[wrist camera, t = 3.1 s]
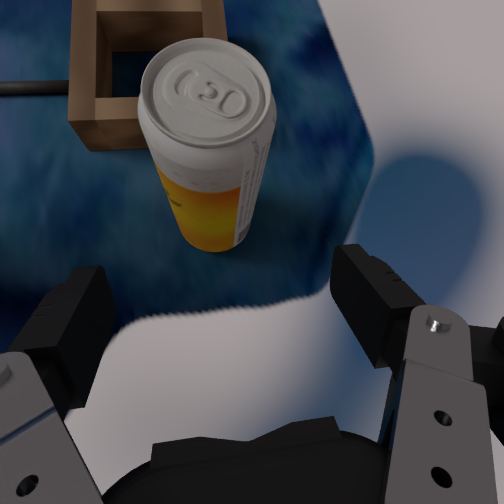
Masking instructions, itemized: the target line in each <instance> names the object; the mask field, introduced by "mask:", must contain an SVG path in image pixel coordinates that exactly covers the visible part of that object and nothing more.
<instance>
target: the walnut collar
mask: <svg viewBox="0 0 504 504" xmlns="http://www.w3.org/2000/svg"><path fill="white" fill-rule="evenodd" d="M192 38H214V39H220V40H223V41H227V42H228V39H227V31H226V23H225V15H224V7H223V0H72V22H71V47H70V73H69V80H57V81H8V82H0V94H35V93H69V99H68V122H69V123H70V125H71V126H72V128H73V129H74V130H75V132H76V133H77V135H78V136H79V138H80V139H81V140H82V142H83V143H84V145H85V146H86V147H87V149H88V150H89V151H98V150H119V149H141V148H149V147H148V144H147V142H146V139H145V137H144V134H143V131H142V129H141V126H140V123H139V119H138V99H139V97H121V98H112V52H141V51H162V50H163V49H164V48H166V47H168V46H170V45H172V44H174V43H176V42H179V41H183V40H187V39H192Z"/></svg>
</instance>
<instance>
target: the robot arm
mask: <svg viewBox="0 0 504 504" xmlns="http://www.w3.org/2000/svg"><path fill="white" fill-rule="evenodd" d="M330 291H331V295H332V297H333V299H334V301H335V303H336V304H337V306H338V308H339V309H340V311H341V313H342V314H343V316H344V318H345V319H346V321H347V323H348V324H349V326H350V328H351V329H352V331H353V333H354V335H355V336H356V338H357V339H358V341H359V343H360V345H361V346H362V348H363V350H364V351H365V353H366V355H367V356H368V358H369V360H370V361H371V363H372V365H373V366H374V368H375V369H376V368H382V367H383V368H384V367H390V369H391V370H392V376H391V379H390V384H389V389H388V394H387V399H386V404H385V409H384V414H383V419H382V424H381V429H380V434H379V437H378V441H377V442H374V441H372V440H370V439H368V438H366V437H363V436H361V435H357V434H354V433H350V432H346V431H340V430H339V428H338V426H337V423H336V421H335V418H334V416H330V417H324V418H317V419H311V420H304V421H298V422H291V423H289V424H287V425H285V426H283V427H280V428H278V429H276V430H274V431H271V432H270V433H267V434H265V435H263V436H260V437H258V438H256V439H254V440H251V441H235V440H226V439H217V438H207V437H194V438H188V439H181V440H175V441H168V442H162V443H155V444H153V446H152V454H151V460H150V461H148V462H146V463H144V464H142V465H140V466H139V467H137V468H135V469H133V470H132V471H130V472H129V473H127V474H126V475H125V476H123V477H122V478H121V479H119V480H118V481H117V482H116V483H115V484H114V485H113V486H111V487H110V488H109V489H108V490H107V491H106V492H105V493H104V494H103V495H101V493H100V491H99V489H98V487H97V485H96V484H95V481H94V480H93V478H92V476H91V474H90V472H89V470H88V468H87V466H86V464H85V462H84V460H83V458H82V456H81V454H80V453H79V450H78V448H77V446H76V445H75V443H74V441H73V439H72V437H71V435H70V433H69V431H68V429H67V427H66V425H65V423H64V419H65V416H66V414H67V411H68V410H69V409H77V408H84V407H85V405H86V402H87V399H88V396H89V393H90V390H91V387H92V384H93V382H94V379H95V376H96V373H97V370H98V367H99V364H100V361H101V358H102V355H103V352H104V349H105V346H106V344H107V341H108V338H109V335H110V332H111V329H112V326H113V323H114V320H115V303H114V300H113V296H112V293H111V290H110V286H109V283H108V280H107V276H106V273H105V270H104V268H103V267H102V266H101V265H99V266H87V267H77V268H75V269H74V270H73V272H72V274H71V275H70V277H69V278H68V280H67V281H66V283H65V284H59V285H58V286H56V287H55V288H54V289H52V290H51V291H50V292H48V293H47V294H46V295H45V296H44V298H43V299H42V301H41V302H40V303H39V305H38V308H37V309H35V311H34V312H33V314H32V315H31V318H30V319H28V321H27V322H26V324H25V325H24V327H23V328H22V329H21V331H20V332H19V334H18V335H17V337H16V338H15V340H14V341H13V342H12V344H11V345H10V347H9V348H8V350H7V351H6V353H3V354H0V504H498V501H497V492H496V483H495V473H494V464H493V454H492V445H491V435H490V429H491V430H492V431H493V433H494V434H495V435H496V437H497V438H498V439H499V441H500V442H501V443H502V445H503V446H504V317H502V319H501V320H500V322H499V324H498V326H497V328H488V327H479V326H471V325H468V324H467V323H466V321H465V320H464V319H463V318H462V317H460V316H459V315H458V314H456V313H455V312H453V311H451V310H448V309H446V308H443V307H440V306H435V305H427V304H426V303H425V302H424V301H423V300H422V299H421V298H420V297H419V296H418V295H417V294H416V293H415V292H414V291H413V290H412V289H411V288H410V287H409V286H408V285H407V284H406V283H405V282H404V281H402V279H401V278H400V277H399V276H398V275H397V274H396V273H395V272H394V271H393V270H392V269H391V267H390V266H388V265H387V263H385V262H383V261H382V260H380V259H378V258H376V257H374V256H369V255H368V254H367V253H366V252H365V251H364V249H363V248H362V247H361V246H360V245H359V244H349V245H338V246H336V247H335V249H334V254H333V261H332V268H331V276H330Z"/></svg>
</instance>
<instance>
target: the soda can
mask: <svg viewBox="0 0 504 504" xmlns="http://www.w3.org/2000/svg"><path fill="white" fill-rule="evenodd" d="M276 114H277V111H276V104H275V100H274V97H273V94H272V92H271V85H270V81H269V78H268V76H267V73H266V72H265V70H264V68H263V67H262V65H261V64H260V63H259V62H258V60H257V59H256V58H255V57H253V56H252V55H251V54H250V53H249V52H247V51H246V50H244V49H243V48H241V47H239V46H237V45H235V44H233V43H230V42H227V41H223V40H220V39H214V38H192V39H187V40H183V41H179V42H176V43H174V44H172V45H170V46H168V47H166V48H164V49H163V50H162V51H160V52H159V53H158V54H157V55H156V56H154V58H153V59H152V60H151V61H150V62H149V64H148V65H147V67H146V69H145V71H144V74H143V77H142V81H141V92H140V96H139V99H138V119H139V123H140V126H141V129H142V131H143V134H144V137H145V139H146V142H147V144H148V147H149V150H150V152H151V155H152V158H153V160H154V163H155V165H156V168H157V171H158V173H159V176H160V178H161V181H162V184H163V186H164V189H165V192H166V194H167V197H168V199H169V202H170V205H171V207H172V210H173V212H174V215H175V218H176V220H177V223H178V226H179V228H180V231H181V233H182V235H183V236H184V238H185V239H186V240H187V241H188V242H189V243H190V244H191V245H193V246H194V247H196V248H198V249H200V250H203V251H207V252H222V251H226V250H229V249H231V248H233V247H235V246H236V245H238V244H239V243H240V242H241V241H242V240H243V239H244V237H245V236H246V234H247V232H248V230H249V227H250V223H251V219H252V215H253V211H254V207H255V203H256V199H257V195H258V192H259V188H260V184H261V180H262V176H263V172H264V168H265V164H266V160H267V156H268V152H269V148H270V144H271V140H272V136H273V132H274V128H275V124H276Z"/></svg>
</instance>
